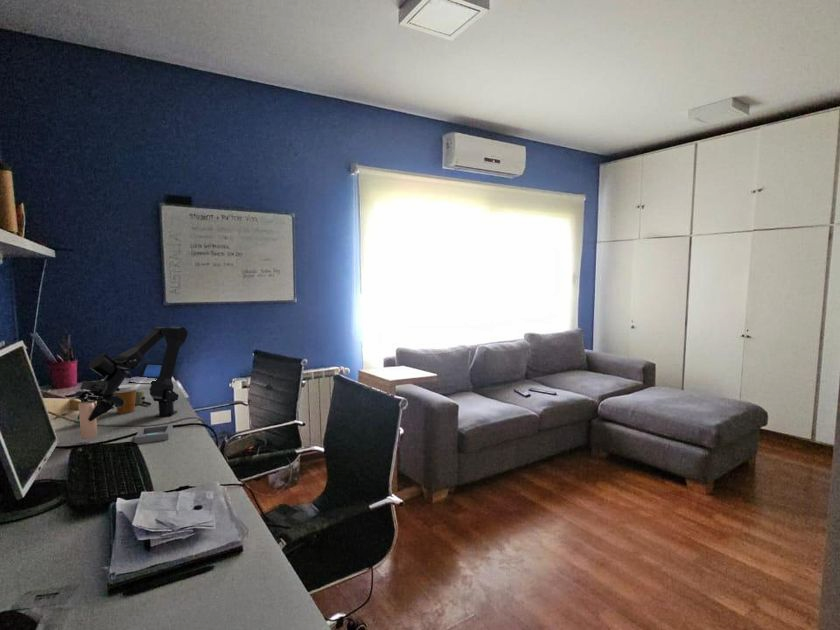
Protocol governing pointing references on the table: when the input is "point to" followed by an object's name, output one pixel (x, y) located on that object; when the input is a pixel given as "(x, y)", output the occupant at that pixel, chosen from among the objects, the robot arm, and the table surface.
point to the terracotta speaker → (87, 426)
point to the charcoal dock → (154, 433)
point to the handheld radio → (141, 397)
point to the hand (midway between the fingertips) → (84, 419)
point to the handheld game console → (151, 370)
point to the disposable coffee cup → (127, 397)
